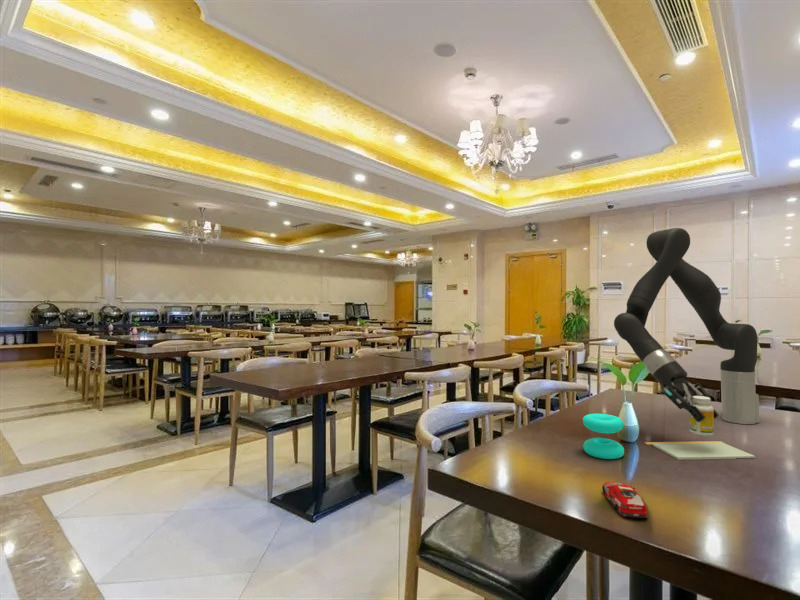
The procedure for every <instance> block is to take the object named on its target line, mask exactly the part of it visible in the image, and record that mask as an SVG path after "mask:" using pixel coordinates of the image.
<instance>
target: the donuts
mask: <svg viewBox="0 0 800 600" xmlns="http://www.w3.org/2000/svg"><path fill="white" fill-rule="evenodd" d="M582 424H583V426H584V427H585V428H586V429H588V430H590V431H592V432H596V433H600V434H615V433H619V432H620V431H621V430H623V428H624V421H623V420H622V419H621V418H620V417H618V416H615V415H612V414H607V413H589V414H586V415H585V416H583V418H582ZM582 449H583V450H584V452H585V453H586V454H588V455H589V456H591V457H594V458H596V459H597V458H598V459H603V460H617V459H620V458H622V457H623V456H624V454H625V448H624V446H623V445H622V444H621V443H619V441H616V440H614V439H610V438H605V437H592V438H588V439H587V440H585V441H584V443H583V446H582Z"/></svg>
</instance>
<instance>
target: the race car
mask: <svg viewBox="0 0 800 600" xmlns="http://www.w3.org/2000/svg"><path fill="white" fill-rule="evenodd" d="M601 487H602V489H601V490H602V494H603V493H604V494H605V495H604V494H603V495H604V496H605V498H606V499H607V500H608V502H609V503H610V504H611V506H612V507H613V508H614V509H615V511H616V510H617V511H618V512H617V511H616V512H617V514H618V513H619V515H620V516H622V517H626V518H627V517H628V518H638V519H645V518H646V519H647V518H648V517H649V515H648V513H649V512H648V508H647V507H648V506H647V504H646V503H645V502H644V500H643V498H642V497H641V496H640V494H639V493H638V492H637V490H636V488H635V487H634V486H631V485H628V484H625V483H622V482H617V481H607V482H605V483H603V484H602V486H601Z"/></svg>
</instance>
